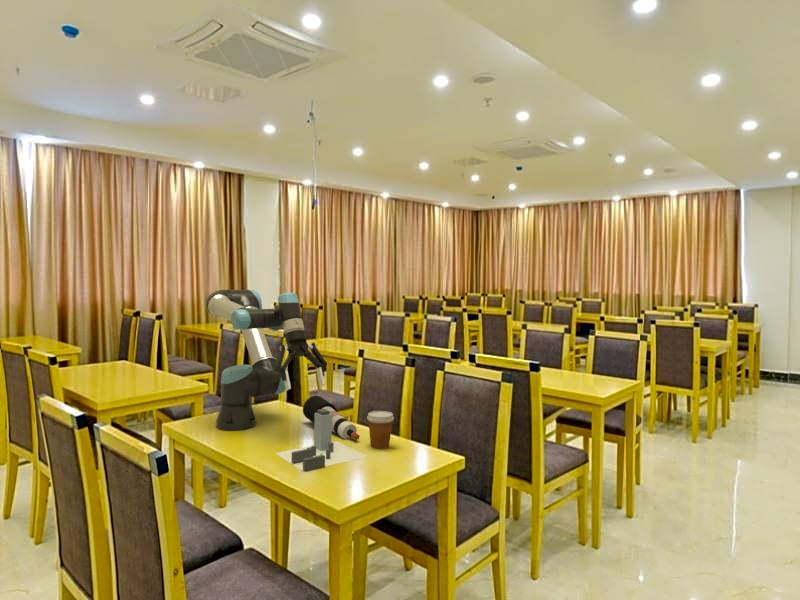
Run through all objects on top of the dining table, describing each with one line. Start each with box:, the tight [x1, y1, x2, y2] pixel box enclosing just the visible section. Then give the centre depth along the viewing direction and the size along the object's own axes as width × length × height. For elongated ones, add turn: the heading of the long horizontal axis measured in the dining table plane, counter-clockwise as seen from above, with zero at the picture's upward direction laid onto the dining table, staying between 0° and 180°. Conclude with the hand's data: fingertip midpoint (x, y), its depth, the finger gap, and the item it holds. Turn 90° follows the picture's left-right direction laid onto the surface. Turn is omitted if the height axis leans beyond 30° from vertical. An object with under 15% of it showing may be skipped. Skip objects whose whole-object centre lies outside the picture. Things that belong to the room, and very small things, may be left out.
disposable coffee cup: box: [366, 410, 395, 450], centre depth 192 cm, size 10×10×12 cm
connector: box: [313, 409, 333, 451], centre depth 188 cm, size 5×4×13 cm
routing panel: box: [274, 440, 368, 472], centre depth 181 cm, size 20×24×4 cm
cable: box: [302, 395, 360, 441], centre depth 209 cm, size 10×34×10 cm, turn 36°
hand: (305, 387), depth 197 cm, fingers open, 13 cm apart
